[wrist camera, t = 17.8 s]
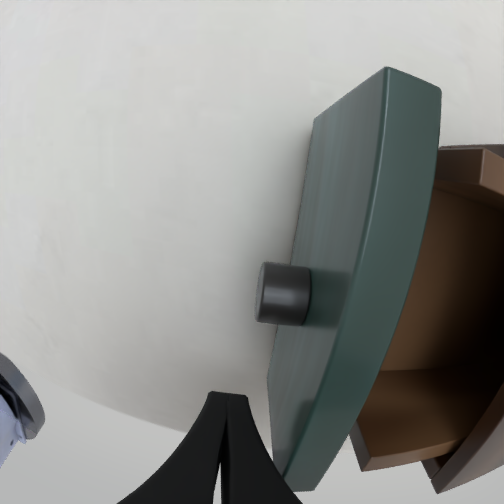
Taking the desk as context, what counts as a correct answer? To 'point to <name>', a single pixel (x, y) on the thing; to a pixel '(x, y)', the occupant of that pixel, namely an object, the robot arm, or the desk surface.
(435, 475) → the cabinet
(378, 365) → the drawer
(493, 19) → the desk surface
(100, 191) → the desk surface
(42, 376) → the desk surface
